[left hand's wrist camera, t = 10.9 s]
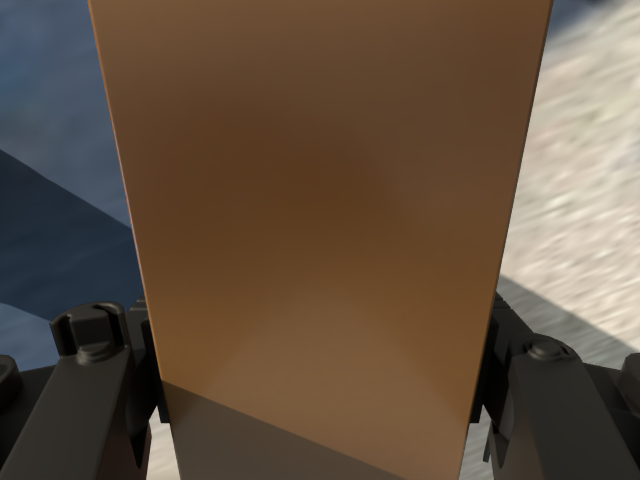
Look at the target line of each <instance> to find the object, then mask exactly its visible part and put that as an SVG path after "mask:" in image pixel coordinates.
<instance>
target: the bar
mask: <svg viewBox="0 0 640 480" xmlns="http://www.w3.org/2000/svg"><path fill="white" fill-rule="evenodd" d="M87 1H88V6H89V12H90V17H91V22H92V27H93V32H94V37H95V42H96V48H97V53H98V58H99V63H100V68H101V73H102V78H103V84H104V89H105V94H106V99H107V104H108V109H109V114H110V120H111V125H112V130H113V135H114V140H115V145H116V150H117V156H118V161H119V166H120V171H121V176H122V181H123V186H124V192H125V197H126V202H127V207H128V212H129V217H130V222H131V228H132V233H133V238H134V243H135V248H136V253H137V258H138V264H139V269H140V274H141V279H142V284H143V289H144V294H145V300H146V305H147V310H148V315H149V320H150V325H151V330H152V336H153V341H154V346H155V351H156V356H157V361H158V366H159V372H160V377H161V382H162V387H163V392H164V397H165V402H166V407H167V413H168V418H169V423H170V428H171V433H172V438H173V443H174V449H175V454H176V459H177V464H178V469H179V474H180V479H181V480H459V475H460V470H461V465H462V460H463V455H464V450H465V444H466V439H467V434H468V429H469V424H470V419H471V414H472V409H473V404H474V399H475V394H476V389H477V384H478V379H479V374H480V369H481V364H482V359H483V354H484V349H485V344H486V339H487V334H488V329H489V324H490V318H491V313H492V308H493V303H494V298H495V293H496V288H497V283H498V278H499V273H500V268H501V263H502V258H503V253H504V248H505V243H506V238H507V233H508V228H509V223H510V218H511V213H512V208H513V203H514V198H515V192H516V187H517V182H518V177H519V172H520V167H521V162H522V157H523V152H524V147H525V142H526V137H527V132H528V127H529V122H530V117H531V112H532V107H533V102H534V97H535V92H536V87H537V82H538V77H539V72H540V67H541V61H542V56H543V51H544V46H545V41H546V36H547V31H548V26H549V21H550V16H551V11H552V6H553V1H554V0H87Z"/></svg>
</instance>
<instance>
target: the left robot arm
mask: <svg viewBox="0 0 640 480" xmlns="http://www.w3.org/2000/svg"><path fill="white" fill-rule="evenodd" d="M49 325H50V328H51V331H52V334H53V337H54V341H55V344H56V347H57V350H58V353H59V356H60V359H59V361H58V363H57V364H56V365H52V366H47V367H42V368H37V369H32V370H27V371H22V372H19V370H18V367H17V365H16V362H15V360H14V359H13V358H12V357H10V356H9V355H0V480H146V476H147V469H148V461H149V454H150V446H151V439H152V435H151V428H150V424H149V419H150V417H151V415H152V414H153V412H154V410H155V408H156V406H157V407H158V411H159V416H160V421H161V423H169V418H168V413H167V407H166V402H165V397H164V392H163V387H162V382H161V377H160V372H159V366H158V361H157V356H156V351H155V346H154V341H153V336H152V330H151V325H150V320H149V315H148V310H147V305H146V300H145V294H144V293H143V294H142V295H141V296H140V297H139V299H138V300H137V302H135V303H134V304H133V305H132V306H131V307H130V310H129V311H127V312H126V313H124V308H123V306H121V305H120V304H119V303H116V302H111V301H98V302H91V303H87V304H82V305H79V306H77V307H74V308H71V309H69V310H67V311H65V312H63V313H61V314H60V315H58V316H56V317H55V318H54V319H53V320H52V321H51V322H50V323H49ZM482 405H484V406H485V408H486V410H487V412H488V414H489V416H490V418H491V424H490V428H489V433H488V437H487V442H486V446H485V451H484V456H483V461H484V462H488V461H489V457H490V454H491V460H492V468H493V475H494V480H640V353H633V354H630V355H629V356H628V357H626V358H625V361H624V364H623V366H622V369H621V370H616V369H611V368H606V367H601V366H596V365H591V364H587V363H583V362H582V360H581V358H580V357H579V356H578V354H577V353H576V352H575V351H574V350H573V349H572V348H570V347H569V346H567V345H566V344H565V343H563V342H561V341H559V340H556V339H554V338H552V337H549V336H545V335H541V334H538V333H533V331H532V330H531V329H530V328H529V327H528V326H527V325H526V324H525V323H524V322H523V320H522V319H521V318H520V317H519V316H518V315H517V314H516V313H515V312H514V310H513V309H510V306H509V305H508V304H507V303H506V302H505V301H503V298H502V297H501V296H500V295H499V294H498V293H497V292H496V293H495V298H494V303H493V308H492V313H491V318H490V324H489V329H488V334H487V339H486V344H485V349H484V354H483V359H482V364H481V369H480V374H479V379H478V384H477V389H476V394H475V399H474V404H473V409H472V414H471V419H470V423H479V420H480V415H481V410H482Z"/></svg>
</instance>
